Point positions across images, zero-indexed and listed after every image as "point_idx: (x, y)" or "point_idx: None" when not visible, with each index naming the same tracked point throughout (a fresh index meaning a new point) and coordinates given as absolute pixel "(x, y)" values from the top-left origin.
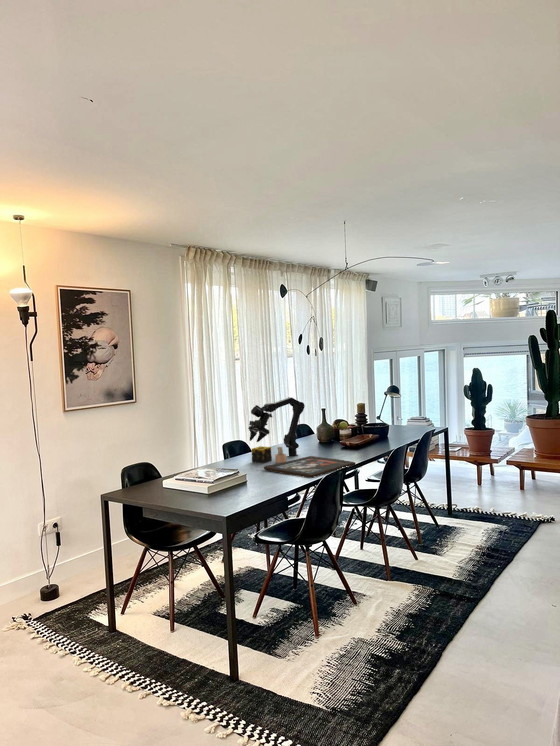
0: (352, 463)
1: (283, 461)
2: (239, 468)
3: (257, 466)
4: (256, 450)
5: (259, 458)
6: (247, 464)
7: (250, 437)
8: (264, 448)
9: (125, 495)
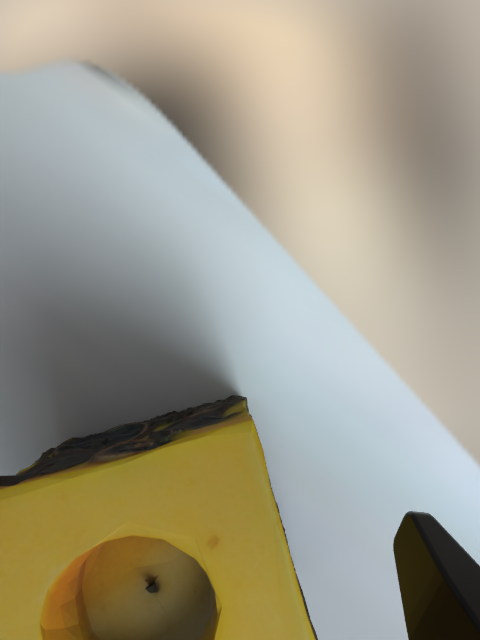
0: None
1: None
2: (114, 107)
3: (13, 301)
4: (128, 452)
5: (111, 444)
6: (224, 306)
7: (470, 607)
8: (21, 627)
9: None
